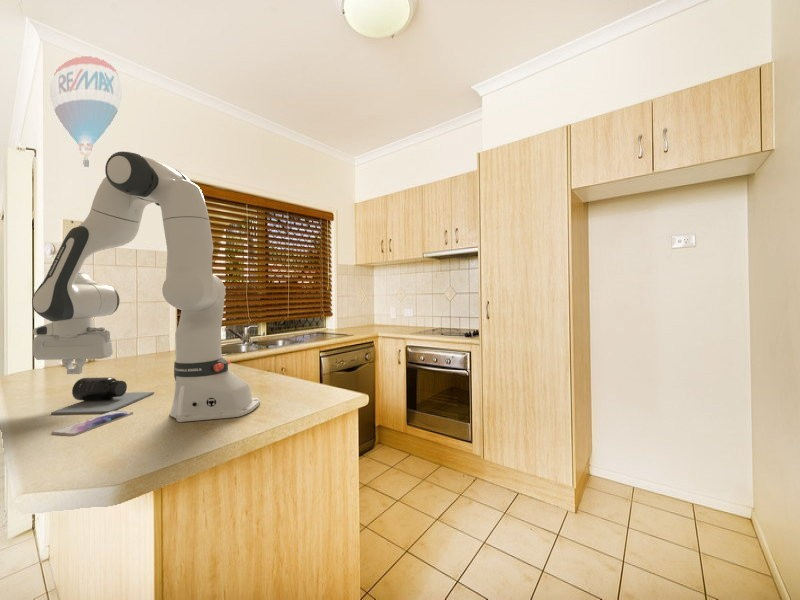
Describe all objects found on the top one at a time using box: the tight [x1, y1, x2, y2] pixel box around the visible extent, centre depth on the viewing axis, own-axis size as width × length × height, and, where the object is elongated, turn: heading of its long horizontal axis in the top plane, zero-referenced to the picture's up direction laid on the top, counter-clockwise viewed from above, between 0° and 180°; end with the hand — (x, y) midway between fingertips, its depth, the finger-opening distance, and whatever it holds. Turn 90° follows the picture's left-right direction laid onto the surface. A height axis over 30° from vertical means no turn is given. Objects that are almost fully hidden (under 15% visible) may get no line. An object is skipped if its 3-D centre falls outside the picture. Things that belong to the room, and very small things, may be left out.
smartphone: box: [51, 410, 134, 437], centre depth 87 cm, size 7×1×15 cm
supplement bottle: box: [71, 376, 128, 402], centre depth 104 cm, size 7×7×12 cm
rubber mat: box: [50, 391, 155, 416], centre depth 102 cm, size 16×18×1 cm
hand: (74, 373), depth 102 cm, fingers closed
